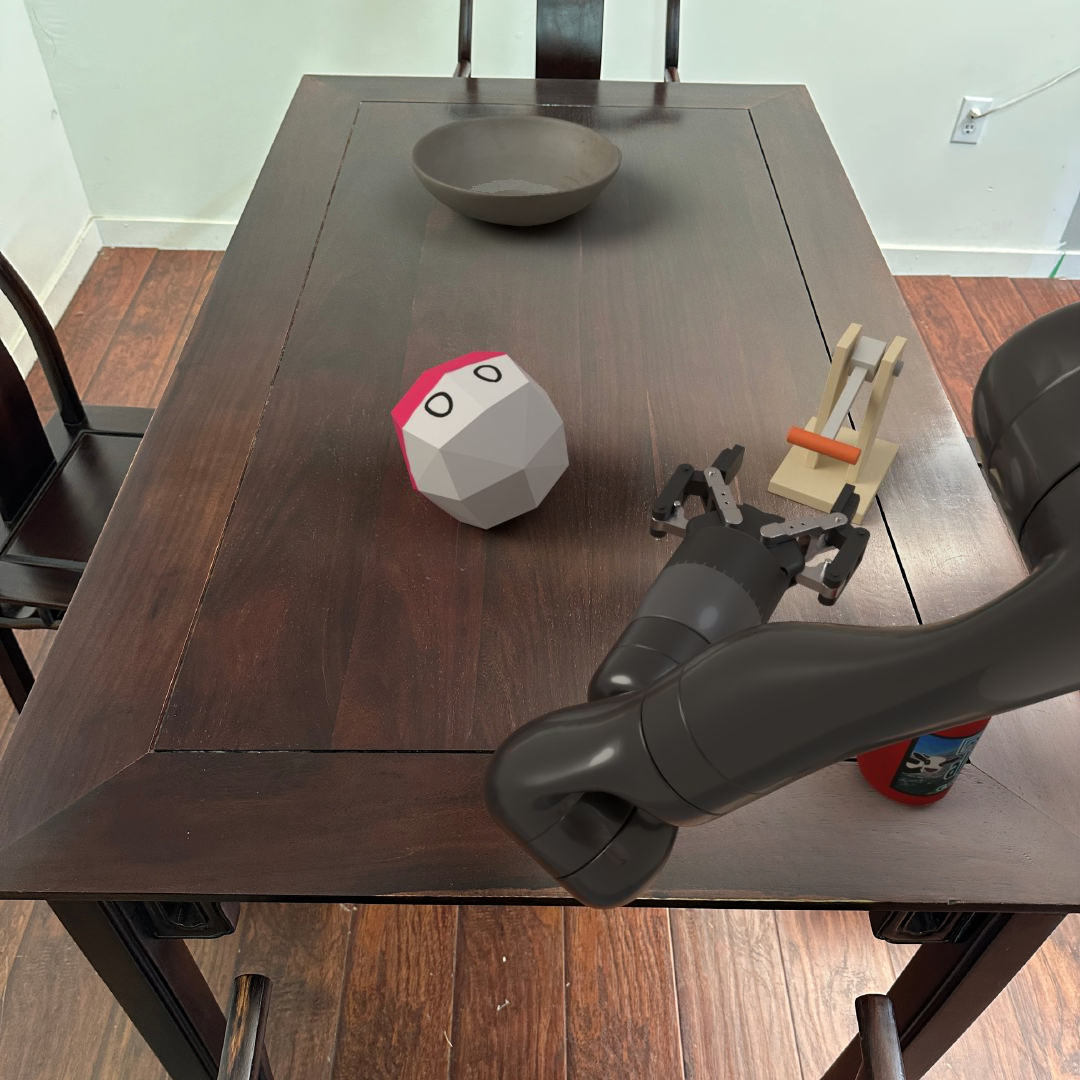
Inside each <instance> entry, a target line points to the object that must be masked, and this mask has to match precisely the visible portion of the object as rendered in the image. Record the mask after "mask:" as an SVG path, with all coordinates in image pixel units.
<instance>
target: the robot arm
mask: <svg viewBox="0 0 1080 1080" xmlns="http://www.w3.org/2000/svg"><path fill="white" fill-rule="evenodd" d="M971 399H972V400H971V409H970V410H971V411H970V415H971V416H970V417H971V425H972V433H973V437H974V438H973V439H974V442H975V446H976V451H977V454H978V458H979V461H980V464H981V466H982V470H983V471H984V473H985V476H986V478H987V481H988V484H989V485H990V487H991V488H992V492H993V495H994V497H995V499H996V502H997V504H998V505H999V508H1000V510H1001V513H1002V514H1003V517H1004V519H1005V522H1006V523H1007V526H1008V528H1009V530H1010V533H1011V535H1012V537H1013V540H1014V541H1015V544H1016V546H1017V548H1018V550H1019V552H1020V555H1021V558H1022V560H1023V562H1024V564H1025V567H1026V569H1027V572H1028V576H1026V577H1025V578H1024V579H1022V580H1021V581H1020V582H1018V583H1017V584H1016V585H1014V586H1013V587H1011V588H1009V589H1008V590H1006V591H1004V592H1003V593H1001V594H1000V595H998V596H996V597H994V598H992V599H991V600H989V601H987V602H985V603H983V604H981V605H979V606H977V607H975V608H973V609H971V610H969V611H966V612H964V613H961V614H959V615H956V616H953V617H949V618H947V619H943V620H938V621H934V622H929V623H923V624H916V625H915V624H914V625H886V626H882V625H881V626H880V625H879V626H878V625H862V624H860V625H859V624H848V623H836V622H826V621H803V620H788V621H787V620H786V621H774V622H769V621H770V620H771V617H772V616H773V614H774V612H775V610H776V608H777V607H778V605H779V603H780V601H781V600H782V598H783V596H784V594H785V593H786V591H788V590H789V589H791V588H793V587H795V586H798V585H801V586H803V587H805V588H807V589H809V590H812V591H814V592H816V593H818V594H817V601H818V603H819V604H821V605H822V606H824V607H833V606H834V605H836V603H837V601H838V600H839V598H840V597H841V595H842V593H843V592H844V590H845V589H846V587H847V586H848V584H849V583H850V580H851V579H852V577H853V576H854V574H855V573H856V571H857V570H858V568H859V566H860V565H861V563H862V561H863V559H864V556H865V552H866V550H867V546H868V544H869V541H870V538H871V532H870V531H869V529H867V528H865V527H862V526H858V527H855V526H853V525H852V523H853V522H852V520H853V518H854V516H855V514H856V511H857V508H858V505H859V502H860V495H859V494H856V493H854V491H855V487H856V486H854V485H851V484H848V483H846V484H845V486H844V487H843V489H842V491H841V493H840V494H839V496H838V498H837V500H836V501H835V503H834V505H833V507H832V508H831V511H830V514H829V513H827V514H825V515H822V516H818V517H814V516H812V514H808V515H805V516H801V517H798V518H794V519H791V520H788V521H786V519H787V518H786V517H783V516H780V515H778V514H774V513H769V512H764V511H762V510H760V509H759V508H757V507H755V506H753V505H750V504H748V503H746V502H743V503H742V504H736V501H735V498H734V496H733V492H732V491H731V488H730V484H731V483H732V482H733V480H734V479H735V477H736V476H737V474H738V473H739V472H740V470H741V468H742V465H743V462H744V456H745V451H746V447H745V446H742V445H740V444H738V443H737V444H735V445H734V446H732V448H728V447H727V448H725V449H723V450H721V452H720V453H719V454H718V456H717V457H716V459H715V460H714V461H713V463H712V464H711V465H710V466H709V467H706V468H704V470H697V469H695V468H694V467H695V466H693V465H692V464H690V463H681V464H679V465H677V468H675V470H674V472H673V474H672V475H671V477H670V479H669V480H668V481H667V483H666V485H665V486H664V488H663V490H662V491H661V492H660V494H659V495H658V497H657V498H656V500H655V502H654V503H653V505H652V507H651V508H652V509H651V516H650V517H651V518H650V523H649V525H650V526H649V535H650V536H652V537H653V538H655V539H662V538H665V537H667V534H670V535H673V536H676V537H678V538H682V540H681V542H680V544H679V545H678V546H677V547H676V549H675V551H674V552H673V553H672V555H671V556H670V558H669V559H668V561H667V562H666V564H665V565H664V566H663V567H662V569H661V570H660V571H659V573H658V574H657V576H656V577H655V579H654V580H653V582H652V583H651V584H650V586H649V588H648V589H647V590H646V592H645V593H644V594H643V596H642V598H641V599H640V601H639V602H638V604H637V606H636V608H635V609H634V611H633V613H632V616H631V618H630V620H629V622H628V624H627V626H625V628H624V630H622V632H621V634H620V635H619V636H618V638H617V640H616V641H615V642H614V644H613V645H612V647H611V648H610V650H609V651H608V653H607V654H606V655H605V657H604V658H603V660H602V661H601V662H600V664H599V665H598V666H597V668H596V669H595V671H594V673H593V675H592V677H591V679H590V680H589V682H588V686H587V691H586V700H587V702H582V703H577V704H573V705H569V706H565V707H561V708H557V709H555V710H552V711H549V712H545V713H544V714H541V715H539V716H537V717H534V718H532V719H531V720H529V721H527V722H526V723H523V724H522V725H521V726H519V727H517V728H516V729H515V730H514V731H512V732H511V733H510V734H509V735H508V736H507V737H506V738H504V739H503V740H502V742H500V744H499V745H498V747H496V749H495V750H494V752H493V754H491V757H490V758H489V760H488V763H487V765H486V768H485V770H484V776H483V780H482V798H483V802H484V805H485V808H486V810H487V812H488V814H489V816H490V817H491V819H492V820H493V822H494V823H495V824H496V825H497V826H498V828H500V829H501V830H502V831H503V833H505V834H506V835H507V836H508V837H509V838H510V839H511V840H513V842H515V844H517V845H518V846H519V847H520V848H521V849H522V850H523V851H524V852H525V853H526V854H527V855H528V856H530V857H531V859H533V861H534V862H536V863H537V864H538V865H539V866H540V868H541V869H543V870H544V871H545V872H546V873H547V874H548V875H549V876H551V877H552V879H554V881H556V882H557V884H558V885H559V886H561V888H563V889H564V890H565V891H566V892H567V893H568V894H569V895H570V896H572V897H573V898H574V899H575V900H576V901H578V902H580V903H581V904H582V905H584V906H586V907H588V908H590V909H592V910H600V911H601V910H602V911H604V910H605V911H607V910H608V911H609V910H615V909H617V908H621V907H623V906H625V905H628V904H630V903H631V902H633V901H635V900H636V899H638V898H639V897H641V895H643V894H644V893H645V892H646V891H647V890H649V888H650V887H651V886H652V885H653V884H654V883H655V881H656V880H657V878H658V877H660V874H661V873H662V872H663V870H664V868H665V866H666V864H667V862H668V860H669V858H670V857H671V854H672V851H673V849H674V846H675V844H676V841H677V837H678V833H679V830H680V827H681V828H690V827H691V828H693V827H699V826H702V825H705V824H708V823H710V822H714V821H715V820H718V819H720V818H722V817H724V816H726V815H728V814H731V813H732V812H734V811H737V810H738V809H741V808H743V807H745V806H747V805H749V804H751V803H754V802H756V801H758V800H760V799H762V798H764V797H766V796H768V795H770V794H772V793H773V792H777V791H779V790H780V789H782V788H785V787H787V786H788V785H791V784H792V783H794V782H797V781H798V780H800V779H803V778H805V777H807V776H810V775H812V774H814V773H816V772H819V771H821V770H824V769H826V768H828V767H830V766H833V765H836V764H838V763H841V762H843V761H847V760H850V759H851V758H855V757H857V756H858V755H860V754H863V753H866V752H870V751H873V750H876V749H879V748H882V747H885V746H888V745H892V744H895V743H899V742H902V741H906V740H909V739H913V738H917V737H920V736H924V735H927V734H931V733H934V732H938V731H942V730H945V729H949V728H953V727H956V726H960V725H963V724H967V723H971V722H974V721H978V720H981V719H985V718H988V717H995V716H998V715H1002V714H1005V713H1009V712H1012V711H1015V710H1019V709H1022V708H1026V707H1028V706H1029V707H1030V706H1032V705H1036V704H1039V703H1042V702H1045V701H1049V700H1052V699H1055V698H1058V697H1061V696H1064V695H1068V694H1071V693H1074V692H1078V691H1080V300H1077V301H1075V302H1071V303H1068V304H1066V305H1063V306H1061V307H1058V308H1056V309H1054V310H1052V311H1050V312H1047V313H1045V314H1042V315H1040V316H1039V317H1037V318H1036V319H1034V320H1032V321H1031V322H1029V323H1027V324H1025V325H1024V326H1022V327H1021V328H1019V329H1017V330H1016V331H1015V332H1014V333H1013V334H1011V335H1010V337H1008V338H1007V339H1006V340H1005V341H1004V342H1003V343H1002V344H1001V345H999V346H998V347H997V348H996V349H995V351H994V352H993V353H992V354H991V356H990V357H989V358H988V359H987V361H986V363H985V364H984V366H983V367H982V369H981V372H980V374H979V376H978V379H977V382H976V384H975V386H974V388H973V393H972V398H971ZM691 496H695V497H699V499H700V502H701V505H702V508H703V511H704V513H702V514H698V515H695V516H693V517H692V518H690V519H689V520H688V519H687V518H686V517H685V511H686V510H685V508H684V506H685V505H686V503H687V502H688V500H689V499H690V497H691ZM835 550H838V551H837V553H836V555H835V556H834V558H833V559H831V558H824V561H822V562H819V563H818V564H817V565H815V566H807V565H806V564H807V563H809V562H811V561H812V560H813V559H814V558H815V557H816V556H818V555H820V554H825V553H827V552H831V551H835Z"/></svg>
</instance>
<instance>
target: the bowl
mask: <svg viewBox="0 0 1080 1080" xmlns="http://www.w3.org/2000/svg"><path fill="white" fill-rule="evenodd" d="M622 159H623V154H622V150H620V148H619V147H618V146H616V145H615V144H614V143H613V142H612V141H611V140H610V139H609V138H607V137H606V136H604V135H603V134H601V133H600V132H598V131H597V130H595V129H594V128H591V127H588V126H586V125H583V124H580V123H577V122H573V121H568V120H565V119H561V118H555V117H549V116H543V115H542V116H541V115H528V114H527V115H526V114H500V115H490V116H480V117H472V118H466V119H461V120H457V121H453V122H449V123H446V124H443V125H440V126H438V127H436V128H434V129H432V130H430V131H428V132H427V133H425V134H424V135H423V136H421V137H420V138H419V139H418V140H417V141H416V142H415V144H414V146H413V148H412V150H411V155H410V160H411V161H410V162H411V166H412V169H413V171H414V173H415V175H416V177H417V179H418V180H419V182H420V183H421V184H422V186H423V187H424V188H425V189H426V190H427V191H428V193H430V194H431V195H432V196H433V197H434V198H435V199H436V200H437V201H439V202H440V203H441V204H443V205H444V206H445V207H447V208H448V209H450V210H451V211H453V212H455V213H458V214H460V215H463V216H465V217H469V218H472V219H476V220H478V221H483V222H487V223H492V224H498V225H507V226H515V227H534V226H540V225H546V224H551V223H554V222H557V221H560V220H562V219H564V218H566V217H569V216H571V215H573V214H576V213H578V212H580V211H582V210H583V209H584V208H586V207H587V206H588V205H590V204H591V203H592V202H593V201H594V200H595V199H597V197H598V196H599V195H600V194H601V193H602V192H603V191H604V190H605V189H606V188H607V187H608V185H609V184H610V183H611V181H612V180H614V178H615V176H616V174H617V173H618V171H619V168H620V167H621V163H622ZM508 179H513V180H524V181H527V182H530V183H535V184H542V185H549V186H552V187H553V188H556V189H558V191H557V192H550V193H531V192H527V191H520V190H504V191H498V192H495V193H489V192H481V191H474V190H470V189H472V188H473V187H472V186H477V185H478V186H479V184H480V185H481V184H484V183H492V182H491V181H495V180H497V181H498V180H508ZM474 188H475V187H474ZM533 225H534V226H533Z"/></svg>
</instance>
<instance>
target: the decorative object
mask: <svg viewBox="0 0 1080 1080" xmlns="http://www.w3.org/2000/svg"><path fill="white" fill-rule="evenodd" d="M390 414H391V417H392V421H393V425H394V429H395V431H396V434H397V438H398V441H399V445H400V449H401V451H402V454H403V459H404V461H405V465H406V469H407V472H408V475H409V478H410V482H411V486H412V489H413V490H414V491H415V492H417V493H418V494H419V495H421V496H422V497H423V498H425V499H426V500H428V501H429V502H431V503H432V504H433V505H435V506H436V507H437V508H439V509H440V510H442V511H443V512H444V513H446V514H448V515H449V516H450V517H451V518H453V519H454V520H456V521H457V522H460V523H463V524H468V525H471V526H474V527H477V528H480V529H484V530H488V529H490V528H492V527H495V526H498V525H500V524H502V523H504V522H507V521H509V520H511V519H514V518H516V517H518V516H521V515H523V514H525V513H528V512H530V511H532V510H535V509H537V508H538V507H539V505H540V504H541V503H542V502H543V500H545V498H546V496H547V495H548V494H549V493H550V491H551V490H552V488H553V487H554V485H556V483H557V482H558V480H559V479H560V477H562V475H563V474H564V472H565V471H566V470H567V469H568V468H569V466H570V463H569V461H570V460H569V454H568V448H567V440H566V439H567V438H566V433H565V427H564V421H563V419H562V418H561V415H560V414H559V412H558V410H557V408H556V407H555V405H554V403H553V401H552V399H551V397H550V396H549V394H548V392H547V391H546V390H545V389H544V387H543V386H542V385H541V384H539V383H538V382H537V381H536V380H535V379H534V378H533V376H531V375H530V374H529V373H528V372H527V371H526V370H524V368H523V367H522V366H520V365H519V364H518V363H517V362H516V361H515V360H514V359H513V358H512V357H511V356H510V355H509V354H508V353H507V352H506V351H486V350H485V351H483V350H481V351H480V350H475V351H471V352H469V353H467V354H464V355H462V356H459V357H457V358H454V359H451V360H449V361H446V362H444V363H440V364H439V365H436V366H434V367H431V368H429V369H426V370H424V371H423V372H422V373H421V375H419V377H418V378H417V379H416V381H415V382H414V383H413V384H412V386H411V387H410V388H409V389H408V390H407V392H406V393H405V394H404V395H403V397H402V398H401V399H400V400H399V402H398V403H397V404H396V405H395V407H394V408H393V409H392V410H391V411H390Z"/></svg>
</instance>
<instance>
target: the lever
mask: <svg viewBox="0 0 1080 1080" xmlns="http://www.w3.org/2000/svg"><path fill="white" fill-rule="evenodd" d="M887 346H888V343H887V342H886V341H883V340H879V339H876V338H872V337H870V336H865V335H862V336H861V338H860V339H859V341H858V344H857V347H856V349H855V351H854V353H853V355H852V357H851V360H850V366H849V371H848V380H847V383H846V386H845V388H844V390H843V392H842V394H841V396H840V398H839V400H838V402H837V404H836V406H835V408H834V410H833V412H832V413H831V415H830V417H829V419H828V421H827V423H826V425H825V427H824V429H823V431H822V433H821V435H818V434H815V433H812V432H809V431H806V430H804V428H800V427H797V426H793V425H792V426H791V427H790V429H789V431H788V433H787V437H786V442H787V443H788V444H791V445H797V446H800V447H803V448H805V449H808V450H811V451H814V452H817V453H820V454H823V455H826V456H829V457H832V458H834V459H837V460H840V461H843V462H846V463H849V464H852V465H856V464H857V462H858V459H859V457H860V454H861V449H859V448H856V447H853V446H851V445H848V444H845V443H842V442H839V441H836V440H835V439H836V437H837V435H838V433H839V431H840V429H841V427H842V426H843V425H844V423H845V420H846V418H847V416H848V415H849V412H850V411H851V408H852V407H853V404H854V403H855V401H856V399H857V397H858V395H859V393H860V390H861V389H862V386H863V385H864V383H865V382H868V383H871V384H872V383H873V381H874V380H875V377H876V376H877V374H878V371H879V368H880V364H881V361H882V359H883V357H884V355H885V354H886V351H887V350H886V349H887Z"/></svg>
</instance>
